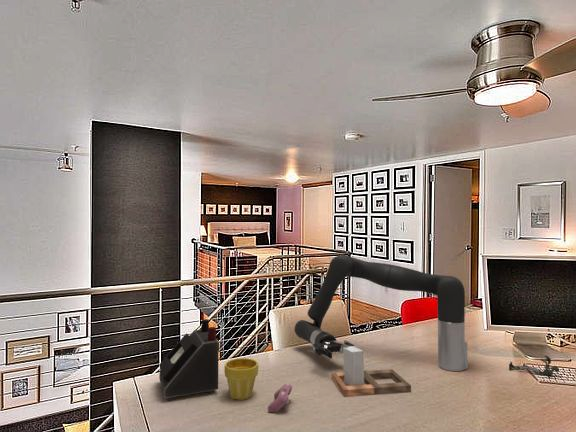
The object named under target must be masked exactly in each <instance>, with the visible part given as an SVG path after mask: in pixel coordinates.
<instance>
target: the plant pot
mask: <svg viewBox="0 0 576 432" xmlns="http://www.w3.org/2000/svg"><path fill="white" fill-rule="evenodd" d="M258 373H259V362H258V361H257V360H256V359H253V358H249V357H237V358H233V359H230V360H227V361H226V362H225V364H224V376H225V378H226V379H227V385H228V389H229V394H230V397H231V398H232V399H234V400H237V401H238V400H239V401H241V400H247V399H249V398H250V397H251V396H252V395H253V391H254V386H255V381H256V377H257V376H258Z"/></svg>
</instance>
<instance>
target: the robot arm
mask: <svg viewBox="0 0 576 432" xmlns="http://www.w3.org/2000/svg"><path fill="white" fill-rule="evenodd" d="M328 265H329V266H328V268H327V270H326V271H327V272H326V273H325V277H324V279H323V281H322V284H321V286H320V289H319V290H318V292H317V294H316V296H315V298H314V299H313V302H312V303H311V305H310V307H309V308H308V310H307V317H309V318H310V320H312V321H313V322H310V321H307V320H305V319H304V320H303V319H301V320H299V321H297V322H296V323H295V325H294V332H295V335H296V336H297V337H298V338H300V339H302V340H304V341H307V342H309V344H310V345H312V351H313V352H314V353H315V355H317V356H318V357H320V356H323V357H326V358H328V359H333V353H340V354H343V348H344V347H350V346H354V347H355V344H353V343H352V342H350V341H347V340H343V342H340V341H337V338H336V337H335V336H334V335H333V334H331V333H329V332H328V331H326V330H323V329H322V323H323V320H324V318H325V316H326V314H327V312H328V311H329V308H330V306H331V304H332V301H333V298H334V296H335V294H336V292H337V290H338V288H339V286H340V285H341V283H342V282H343V280H344V279H345V278H346V277H348V278H356V279H363V280H367V281H369V282H371V283H373V284H375V285H378V286H380V287H384V288H387V289H388V288H389V289H392V290H397V291H404V292H405V291H407V292H422V293H427V294H432V295H435V296H436V297H437V301H436V302H437V303H436V304H437V361H438V362H437V364H438V367H439V368H440V369H443V370H446V371H451V372H461V371H465V370H467V369H468V362H469V361H468V342H467V341H466V338H465V337H466V335H465V333H466V331H465V330H466V329H465V326H466V325H465V317H466V315H465V314H466V309H465V308H466V305H465V303H466V302H465V301H466V295H465V294H466V293H465V291H466V290H465V287H464V284H463V282H462V281H461V279H459V278H458V277H455V276H452V275H441V274H433V273H427V272H422V271H420V270H416V269H411V268H408V267H403V266H399V265H397V264H396V265H395V264H388V263H385V262H384V263H382V262H375V261H374V262H373V261H366V260H363V259H359V258H356V257H353V256H349V255H347V254H340V255H336V256H334V257H333V258H332V259H331V260H330V263H329V264H328Z"/></svg>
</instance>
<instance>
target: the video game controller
mask: <svg viewBox="0 0 576 432" xmlns="http://www.w3.org/2000/svg"><path fill="white" fill-rule="evenodd" d="M292 389H293V385H292V384H289V383H285V384H283V385H282V386H281V387H280V388H279V389H277V390H276V391H275V393H274V394H273V397H274V400H273V401H271V402H270V403H269V405H268V406H267V411H268V412H269V413H275V412H278V411H279V410H280V409H281V410H283V408H284V407H285V405H286V404H287V405H288V404H289V402H290V399H289V396H290V395H291V392H292Z"/></svg>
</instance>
